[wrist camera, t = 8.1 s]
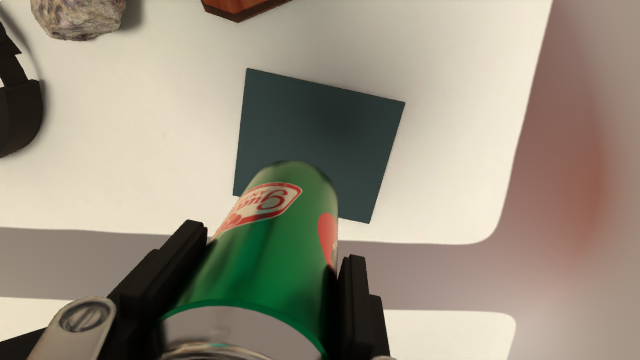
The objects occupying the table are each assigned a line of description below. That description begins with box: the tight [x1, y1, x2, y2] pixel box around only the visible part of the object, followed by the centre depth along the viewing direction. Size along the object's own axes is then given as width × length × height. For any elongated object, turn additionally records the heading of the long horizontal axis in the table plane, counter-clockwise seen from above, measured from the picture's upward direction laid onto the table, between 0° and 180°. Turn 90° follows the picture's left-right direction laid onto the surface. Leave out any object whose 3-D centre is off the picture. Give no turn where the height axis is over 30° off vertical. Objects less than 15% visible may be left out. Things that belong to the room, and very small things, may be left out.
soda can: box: [139, 160, 338, 360], centre depth 13 cm, size 5×5×12 cm
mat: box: [233, 68, 405, 224], centre depth 34 cm, size 14×16×1 cm
